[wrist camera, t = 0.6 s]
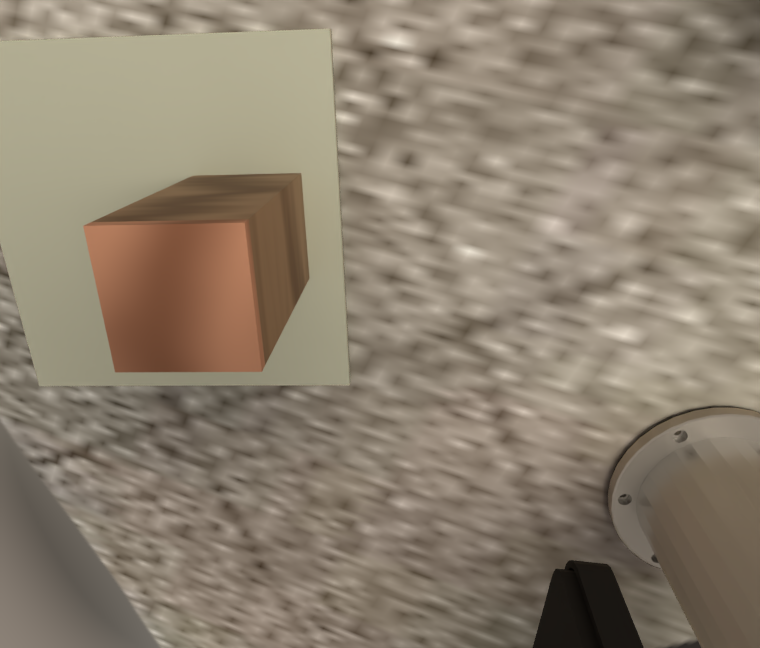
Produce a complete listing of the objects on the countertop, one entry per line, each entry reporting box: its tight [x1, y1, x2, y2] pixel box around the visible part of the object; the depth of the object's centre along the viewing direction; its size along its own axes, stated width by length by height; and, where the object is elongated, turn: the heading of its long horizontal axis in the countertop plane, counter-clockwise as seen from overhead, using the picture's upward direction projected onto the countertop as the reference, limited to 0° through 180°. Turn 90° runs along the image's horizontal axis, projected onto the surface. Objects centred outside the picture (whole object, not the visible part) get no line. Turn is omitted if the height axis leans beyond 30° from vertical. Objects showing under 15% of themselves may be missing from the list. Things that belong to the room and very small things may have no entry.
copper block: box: [83, 173, 309, 372], centre depth 29 cm, size 6×6×12 cm
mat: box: [0, 29, 350, 386], centre depth 35 cm, size 20×20×1 cm
